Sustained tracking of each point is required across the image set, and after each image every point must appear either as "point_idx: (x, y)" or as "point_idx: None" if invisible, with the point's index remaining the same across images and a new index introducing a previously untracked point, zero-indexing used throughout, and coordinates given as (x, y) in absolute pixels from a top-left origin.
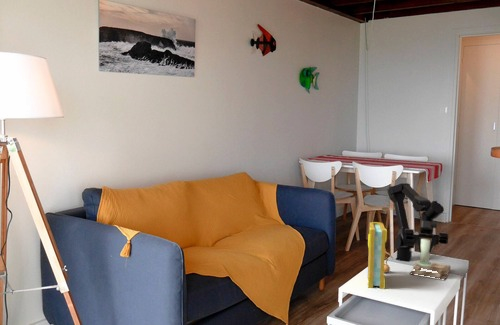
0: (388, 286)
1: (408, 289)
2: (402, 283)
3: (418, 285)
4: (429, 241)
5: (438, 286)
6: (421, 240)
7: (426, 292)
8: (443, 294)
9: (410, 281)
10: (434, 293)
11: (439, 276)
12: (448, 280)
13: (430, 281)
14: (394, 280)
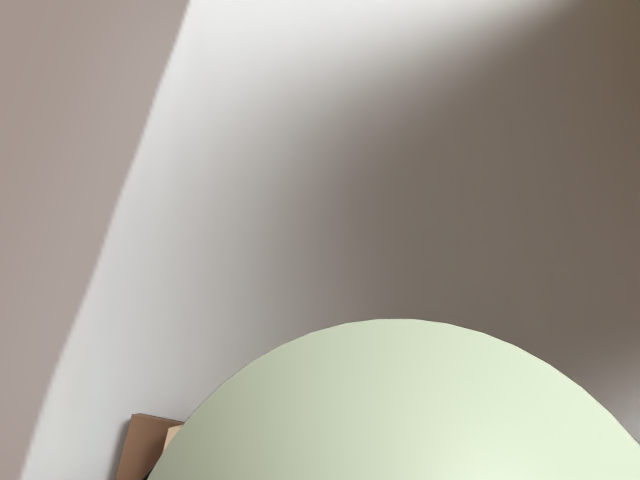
0: (627, 19)
1: (460, 16)
2: (533, 143)
3: (390, 147)
4: (186, 436)
5: (215, 193)
6: (629, 454)
7: (319, 6)
8: (192, 15)
9: (472, 233)
10: (259, 9)
11: (178, 425)
12: (95, 438)
13: (283, 317)
14: (621, 199)
